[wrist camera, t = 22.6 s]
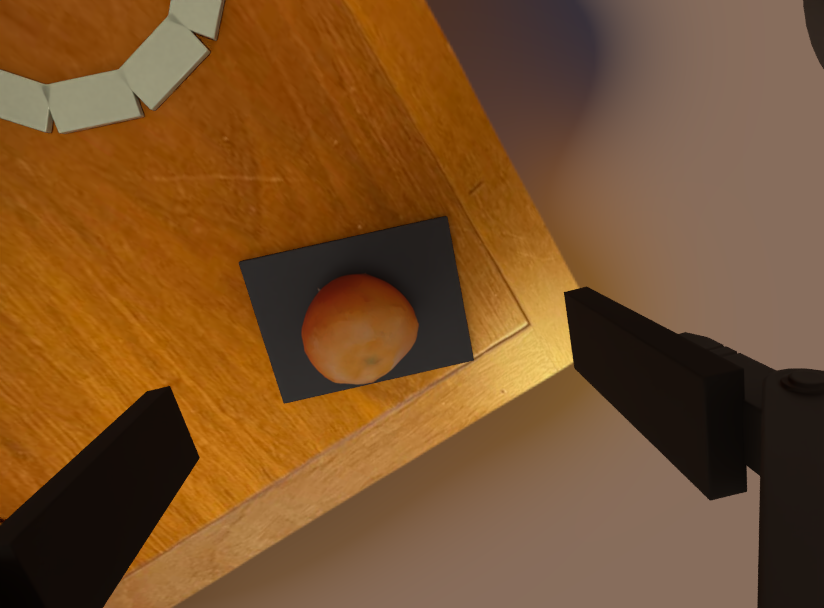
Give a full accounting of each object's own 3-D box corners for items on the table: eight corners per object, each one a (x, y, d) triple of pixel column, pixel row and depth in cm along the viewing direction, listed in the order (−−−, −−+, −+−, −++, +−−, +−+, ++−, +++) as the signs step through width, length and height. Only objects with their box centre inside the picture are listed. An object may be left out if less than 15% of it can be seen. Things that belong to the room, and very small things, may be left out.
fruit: (369, 225, 32) (401, 298, 27) (409, 292, 38) (443, 364, 33) (271, 279, 33) (284, 361, 27) (325, 337, 39) (345, 415, 33)
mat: (446, 215, 35) (447, 216, 34) (472, 358, 38) (474, 360, 38) (240, 261, 34) (238, 262, 34) (284, 401, 38) (283, 404, 37)
